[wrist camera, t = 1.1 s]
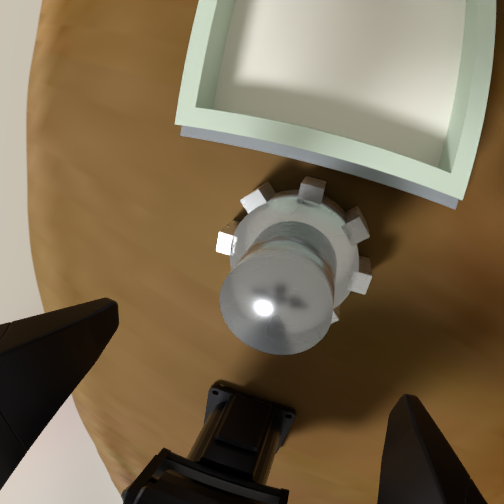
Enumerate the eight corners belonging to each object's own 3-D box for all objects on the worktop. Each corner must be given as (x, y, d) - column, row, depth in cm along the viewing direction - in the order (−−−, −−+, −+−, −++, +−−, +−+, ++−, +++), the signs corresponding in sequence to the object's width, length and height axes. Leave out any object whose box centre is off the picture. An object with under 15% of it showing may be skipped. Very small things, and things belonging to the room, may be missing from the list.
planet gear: (344, 323, 17) (338, 403, 12) (221, 287, 18) (174, 350, 13) (389, 200, 14) (414, 244, 9) (243, 160, 15) (188, 182, 10)
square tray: (446, 201, 13) (470, 223, 10) (194, 134, 15) (157, 138, 12) (482, -22, 8) (506, -47, 5) (241, -75, 10) (218, -106, 7)
